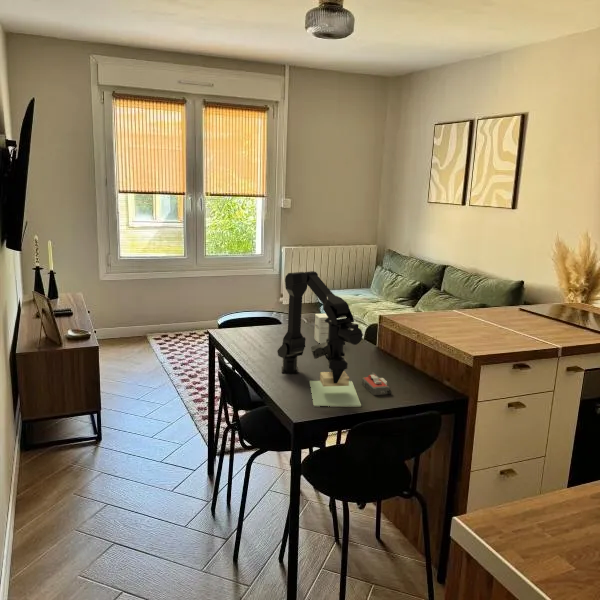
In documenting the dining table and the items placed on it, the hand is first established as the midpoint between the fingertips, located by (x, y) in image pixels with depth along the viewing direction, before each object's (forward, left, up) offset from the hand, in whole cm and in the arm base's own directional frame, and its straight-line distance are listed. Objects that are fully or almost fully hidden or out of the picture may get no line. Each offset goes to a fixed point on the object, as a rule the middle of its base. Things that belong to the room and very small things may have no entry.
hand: (334, 379), depth 189 cm
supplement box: (-63, +2, -6) cm, 63 cm away
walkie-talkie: (-8, +16, -6) cm, 19 cm away
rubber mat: (0, 0, -5) cm, 5 cm away
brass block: (0, 0, -1) cm, 1 cm away
